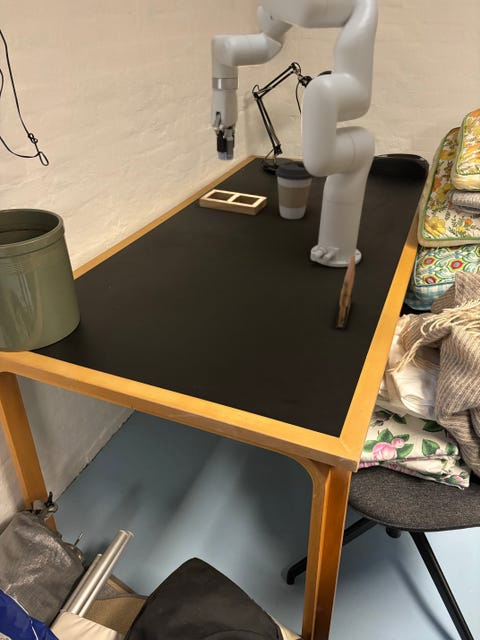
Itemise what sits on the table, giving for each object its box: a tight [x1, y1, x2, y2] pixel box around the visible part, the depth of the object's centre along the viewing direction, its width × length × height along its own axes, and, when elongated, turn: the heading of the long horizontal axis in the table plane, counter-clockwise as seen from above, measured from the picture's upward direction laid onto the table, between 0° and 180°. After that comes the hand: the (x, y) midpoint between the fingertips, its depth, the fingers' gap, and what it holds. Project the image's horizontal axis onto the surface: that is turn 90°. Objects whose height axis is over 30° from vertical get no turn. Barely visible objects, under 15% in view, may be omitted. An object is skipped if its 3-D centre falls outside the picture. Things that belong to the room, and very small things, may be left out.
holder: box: [198, 189, 268, 216], centre depth 159 cm, size 10×19×2 cm, turn 67°
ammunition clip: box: [335, 254, 356, 330], centre depth 101 cm, size 11×2×12 cm, turn 163°
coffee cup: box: [275, 160, 315, 220], centre depth 149 cm, size 11×11×15 cm
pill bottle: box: [217, 129, 235, 161], centre depth 152 cm, size 5×5×8 cm
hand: (225, 149), depth 153 cm, fingers closed on pill bottle, 4 cm apart
